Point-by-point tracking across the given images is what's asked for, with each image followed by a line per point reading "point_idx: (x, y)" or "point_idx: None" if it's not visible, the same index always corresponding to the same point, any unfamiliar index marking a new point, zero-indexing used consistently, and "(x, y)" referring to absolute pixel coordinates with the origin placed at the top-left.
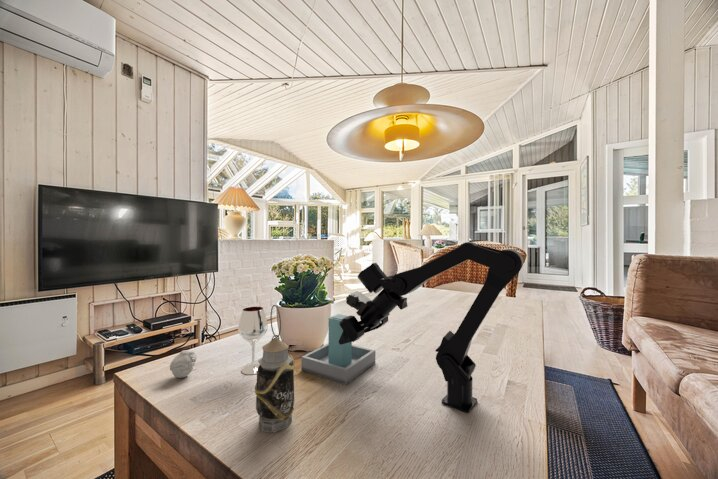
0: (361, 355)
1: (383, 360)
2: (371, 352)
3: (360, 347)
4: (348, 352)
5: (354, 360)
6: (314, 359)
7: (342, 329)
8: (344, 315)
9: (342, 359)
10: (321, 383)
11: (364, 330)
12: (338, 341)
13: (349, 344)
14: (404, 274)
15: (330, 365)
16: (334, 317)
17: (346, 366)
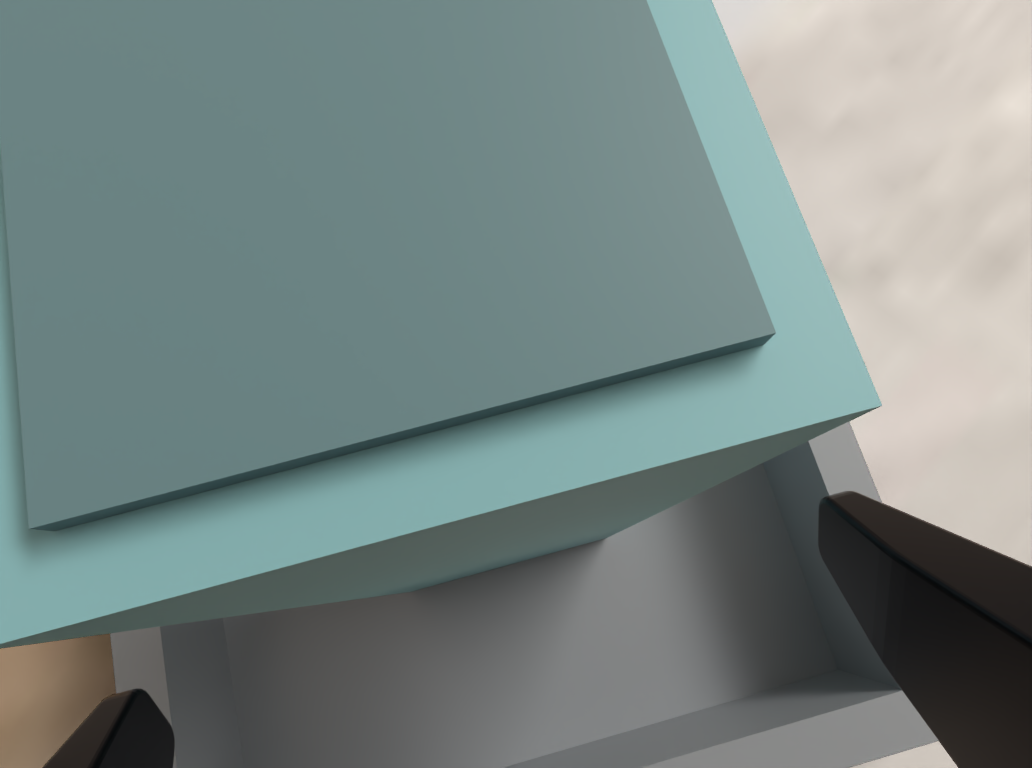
0: (796, 524)
1: None
2: (867, 749)
3: (846, 476)
4: (544, 551)
5: (667, 523)
6: None
7: (214, 618)
8: (647, 79)
9: (401, 591)
10: (95, 645)
11: (993, 766)
12: (102, 702)
13: (577, 538)
14: None
15: (117, 671)
16: (50, 46)
17: (485, 585)
